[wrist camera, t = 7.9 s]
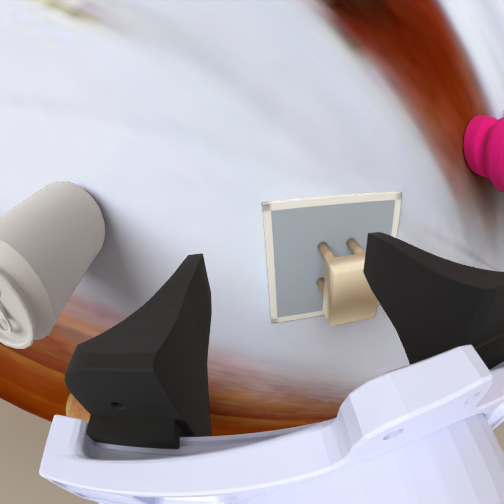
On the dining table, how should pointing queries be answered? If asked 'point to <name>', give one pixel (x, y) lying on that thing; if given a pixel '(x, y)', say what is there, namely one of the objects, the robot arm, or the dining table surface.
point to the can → (45, 258)
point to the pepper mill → (486, 148)
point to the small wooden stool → (345, 286)
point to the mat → (310, 235)
